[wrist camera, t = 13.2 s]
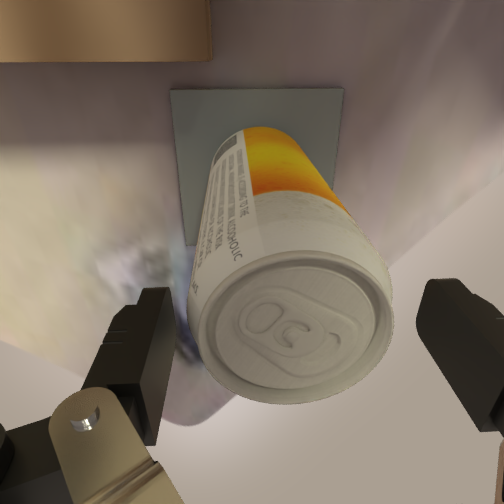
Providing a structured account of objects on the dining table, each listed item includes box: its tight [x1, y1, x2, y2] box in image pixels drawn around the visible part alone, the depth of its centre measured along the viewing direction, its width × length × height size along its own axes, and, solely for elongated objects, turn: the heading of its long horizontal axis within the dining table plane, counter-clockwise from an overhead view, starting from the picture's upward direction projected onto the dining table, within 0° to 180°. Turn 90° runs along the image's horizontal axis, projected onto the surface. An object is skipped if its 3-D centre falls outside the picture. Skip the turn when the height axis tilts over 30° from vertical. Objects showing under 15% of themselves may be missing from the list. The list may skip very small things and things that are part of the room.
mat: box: [169, 88, 344, 246], centre depth 23 cm, size 10×10×1 cm
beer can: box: [187, 127, 394, 404], centre depth 16 cm, size 6×6×15 cm
